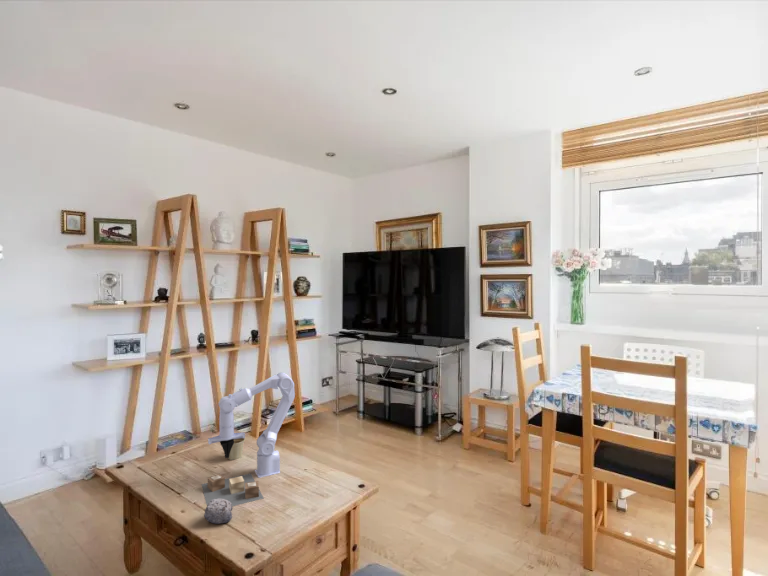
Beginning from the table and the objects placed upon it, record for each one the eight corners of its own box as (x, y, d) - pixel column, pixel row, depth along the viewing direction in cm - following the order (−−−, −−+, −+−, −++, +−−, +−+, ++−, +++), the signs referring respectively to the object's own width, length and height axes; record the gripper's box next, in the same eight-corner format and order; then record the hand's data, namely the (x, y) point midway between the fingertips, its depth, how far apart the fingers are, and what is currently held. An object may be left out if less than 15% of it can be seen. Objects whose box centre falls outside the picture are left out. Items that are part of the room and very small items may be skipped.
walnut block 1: (219, 483, 175) (219, 473, 175) (224, 487, 172) (224, 477, 171) (207, 487, 172) (207, 477, 172) (212, 491, 168) (212, 481, 168)
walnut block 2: (258, 490, 169) (258, 480, 169) (258, 496, 164) (258, 486, 164) (245, 492, 167) (245, 482, 167) (245, 499, 163) (245, 488, 163)
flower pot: (241, 462, 196) (241, 443, 196) (221, 461, 196) (221, 443, 196) (248, 453, 206) (247, 436, 205) (228, 453, 206) (228, 436, 206)
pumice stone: (238, 523, 151) (220, 508, 156) (242, 504, 150) (225, 489, 155) (213, 537, 143) (196, 521, 147) (218, 517, 141) (200, 501, 146)
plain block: (241, 485, 173) (241, 476, 173) (244, 490, 169) (244, 481, 169) (229, 488, 171) (229, 478, 171) (231, 494, 166) (231, 484, 166)
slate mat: (250, 474, 184) (250, 473, 184) (263, 499, 163) (263, 498, 163) (201, 485, 174) (201, 484, 174) (208, 513, 154) (208, 512, 154)
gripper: (242, 420, 185) (242, 450, 185) (207, 425, 178) (207, 457, 178) (245, 424, 179) (246, 456, 179) (209, 430, 172) (209, 463, 172)
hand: (226, 457), depth 178 cm, fingers closed
